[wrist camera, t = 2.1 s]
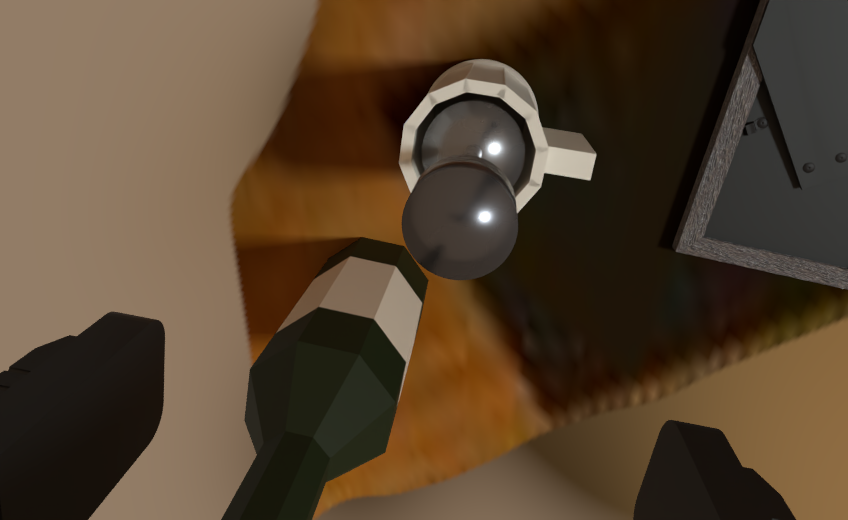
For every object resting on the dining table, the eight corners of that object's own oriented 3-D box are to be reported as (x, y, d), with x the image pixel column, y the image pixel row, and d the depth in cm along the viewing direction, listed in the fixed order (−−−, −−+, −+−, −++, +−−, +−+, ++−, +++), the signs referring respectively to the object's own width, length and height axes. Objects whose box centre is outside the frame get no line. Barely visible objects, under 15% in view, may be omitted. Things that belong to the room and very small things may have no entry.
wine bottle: (356, 215, 48) (155, 492, 20) (450, 277, 49) (385, 626, 21) (302, 299, 51) (58, 646, 23) (391, 356, 52) (264, 757, 24)
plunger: (534, 108, 32) (555, 161, 20) (514, 208, 34) (522, 311, 22) (431, 92, 32) (391, 134, 21) (416, 192, 34) (372, 284, 22)
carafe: (585, 74, 43) (619, 96, 31) (559, 189, 45) (581, 251, 33) (431, 50, 43) (405, 62, 31) (415, 165, 46) (385, 217, 34)
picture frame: (766, -26, 40) (670, 244, 47) (779, -28, 38) (677, 253, 45) (983, 19, 40) (855, 285, 46) (1006, 19, 38) (870, 296, 44)
